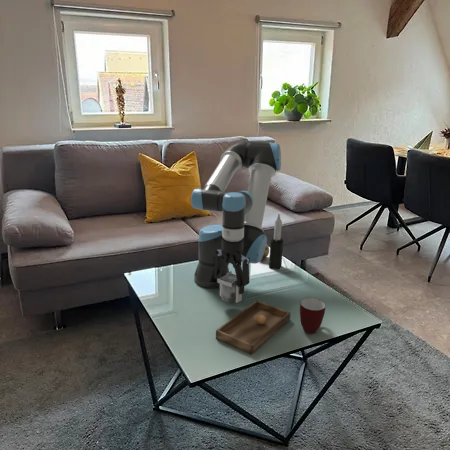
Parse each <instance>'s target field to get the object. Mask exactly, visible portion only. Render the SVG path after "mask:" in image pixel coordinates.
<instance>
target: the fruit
mask: <svg viewBox="0 0 450 450" xmlns="http://www.w3.org/2000/svg"><path fill="white" fill-rule="evenodd" d="M269 255H270V247H269V244H267V243H266V249H265V252H264V255H263V257H262V259H261V260H264V259H266V258H267V257H268V256H269Z"/></svg>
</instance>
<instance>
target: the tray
mask: <svg viewBox="0 0 450 450" xmlns="http://www.w3.org/2000/svg"><path fill="white" fill-rule="evenodd" d="M260 315H263V316H264V317H265V318H266V322H265V323H264V324H259V323H258V322H257V318H258V317H259V316H260ZM290 318H291V312H289V311H286V310H285V309H282V308H279V307H276V306H273V305H270V304H268V303H265V302H262V301H260V300H255V301H253V303H251V304H249V305H248V306H247V307H246V308H244V309H243V310H242V311H240V312H239V313H238V314H236V315H235V316H234V317H232V318H231V319H229V320H228V321H227V322H225V323H224V324H223V325H221V326H220V327H219V328H217V329H216V330H215V340H218V341H221V342H223V343H225V344H227V345H230V346H232V347H234V348H235V349H238V350H240V351H243V352H245V353H247V354H249V355H252V356H253V354H254V353H255V352H257V350H258V349H259V348H261V347H262V346H263V345H264V344H265V343H266V342H267V341H268V340H269V339H271V338H272V337H273V336H274V335H275V334H276V333H277V332H278V331H279V330H280V329H281V328H283V327H284V326H285V325H286V324H287V323H288V322H289V321H290Z"/></svg>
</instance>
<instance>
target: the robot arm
mask: <svg viewBox="0 0 450 450" xmlns="http://www.w3.org/2000/svg"><path fill="white" fill-rule="evenodd" d="M281 153H282V151H281V146H280V144H279V143H277V142H271V141H269V142H267V141H266V142H265V141H251V140H242V141H238V142H236V143H233V144H232V145H230V146H229V147H228V148H226V149H225V150H224V151H223V152H222V154H221V156H220V158H219V163H218V165H216V168H215V169H214V171H213V172H212V174H211V175H210V177H209V179H208V180H207V182H206V183H205V184H204V186H203V188H194V189H193V191H192V192H191V196H190V203H191V207H192V208H194V209H197V210H201V211H211V212H220V213H222V216H221V217H222V223H221V224H210V225H209V224H208V225H206V226H203V227H202V228H201V229H200V230H199V232H198V239H197V242H198V264H197V265H196V266H197V267H196V269H195V271H194V279H193V280H194V283H195V284H196V285H198V286H200V287H203V288H208V289H219V297H221V298H222V284H220V283H218V282H217V278H219V277H221V276H223V275H225V274H226V273H228V272H230V269H229V265H230V264H231V265H232V267H233V268H234V272H235V275H236V277H237V281H238V285H237V286H236V302H235V303H239V302H241V301H242V300H243V294H244V293H245V287H246V286H247V285H249V284H250V264H259V263H260V262H261V260H263V259H262V257H263V255H264V252H265V249H266V244H267V243H268V238H267V235H266V234H265V231H264V229H263V228H262V226H263V221H264V214H265V212H266V211H265V209H266V205H267V200H268V196H269V189H270V185H271V181H272V180H271V179H272V178H273V177H274V176H276V174H277V173H276V172H278V171H281V168H282V154H281ZM241 168H243V169H248V171H249V173H250V178H249V182H248V187H247V190H240V191H237V192H234V191H227V187H228V186H229V185H230V182H231V180H232V178H233V176H234V175H235V174H236V172H238V171H239V170H240V169H241ZM225 190H226V191H225Z"/></svg>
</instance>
